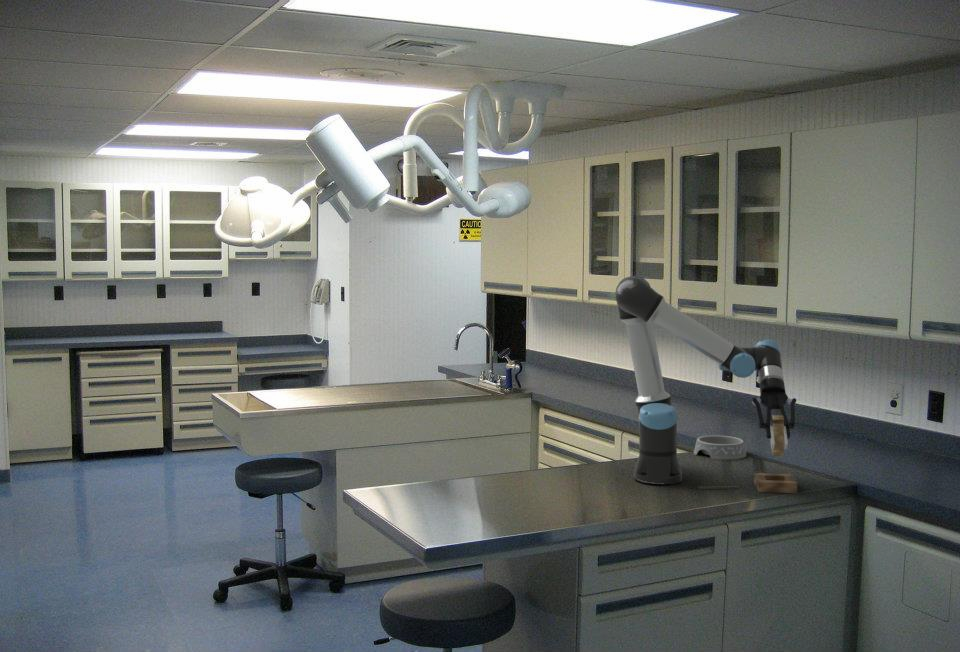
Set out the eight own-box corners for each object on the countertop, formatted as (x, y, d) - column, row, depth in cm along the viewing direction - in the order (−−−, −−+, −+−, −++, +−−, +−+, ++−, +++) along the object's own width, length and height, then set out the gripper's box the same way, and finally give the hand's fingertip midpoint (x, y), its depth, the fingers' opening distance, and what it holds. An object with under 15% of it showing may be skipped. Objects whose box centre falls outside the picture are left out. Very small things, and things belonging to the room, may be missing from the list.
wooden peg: (773, 456, 276) (773, 417, 275) (771, 453, 279) (771, 414, 278) (783, 456, 276) (784, 417, 274) (782, 453, 279) (782, 415, 277)
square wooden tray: (758, 491, 274) (759, 482, 274) (754, 482, 285) (754, 473, 284) (797, 493, 272) (797, 483, 272) (790, 483, 283) (791, 473, 283)
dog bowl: (716, 446, 336) (716, 432, 336) (756, 455, 321) (757, 440, 321) (683, 453, 327) (684, 438, 326) (724, 462, 312) (724, 447, 311)
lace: (699, 489, 278) (699, 487, 278) (698, 488, 279) (698, 486, 278) (738, 488, 278) (738, 486, 278) (737, 487, 279) (738, 486, 279)
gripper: (796, 390, 290) (806, 453, 275) (744, 390, 292) (750, 453, 277) (799, 376, 284) (809, 440, 269) (746, 376, 287) (753, 439, 272)
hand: (779, 446), depth 273 cm, fingers closed on wooden peg, 3 cm apart
